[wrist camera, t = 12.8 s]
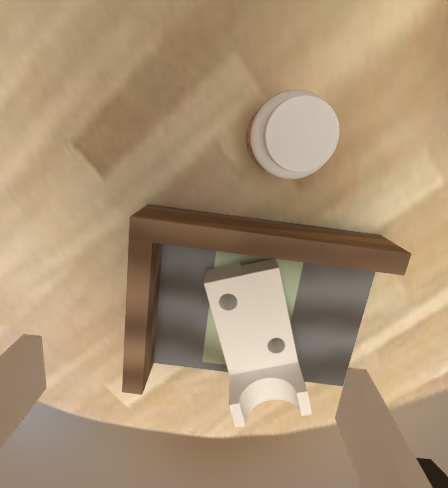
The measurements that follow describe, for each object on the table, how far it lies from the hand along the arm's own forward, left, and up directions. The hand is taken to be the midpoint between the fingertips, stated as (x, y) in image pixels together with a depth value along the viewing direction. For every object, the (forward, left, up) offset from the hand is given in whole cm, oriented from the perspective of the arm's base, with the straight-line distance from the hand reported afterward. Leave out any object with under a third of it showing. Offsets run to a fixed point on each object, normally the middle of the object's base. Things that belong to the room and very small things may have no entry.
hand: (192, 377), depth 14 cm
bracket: (+8, +5, -20) cm, 22 cm away
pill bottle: (-11, +5, -21) cm, 24 cm away
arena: (+6, +5, -21) cm, 22 cm away
